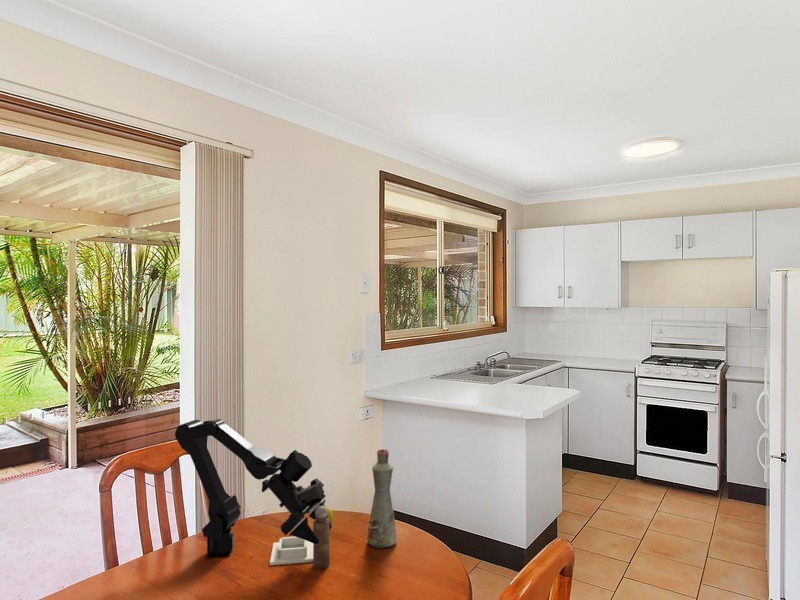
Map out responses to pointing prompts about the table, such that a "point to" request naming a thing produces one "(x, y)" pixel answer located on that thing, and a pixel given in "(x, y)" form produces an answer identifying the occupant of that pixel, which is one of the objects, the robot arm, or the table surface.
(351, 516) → the table surface
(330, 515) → the lemon
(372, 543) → the bottle
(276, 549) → the mill stand
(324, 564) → the pepper mill
